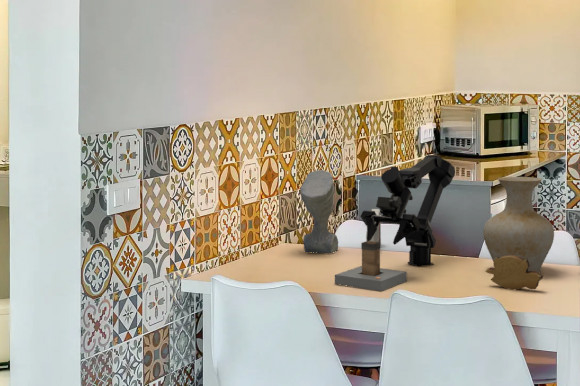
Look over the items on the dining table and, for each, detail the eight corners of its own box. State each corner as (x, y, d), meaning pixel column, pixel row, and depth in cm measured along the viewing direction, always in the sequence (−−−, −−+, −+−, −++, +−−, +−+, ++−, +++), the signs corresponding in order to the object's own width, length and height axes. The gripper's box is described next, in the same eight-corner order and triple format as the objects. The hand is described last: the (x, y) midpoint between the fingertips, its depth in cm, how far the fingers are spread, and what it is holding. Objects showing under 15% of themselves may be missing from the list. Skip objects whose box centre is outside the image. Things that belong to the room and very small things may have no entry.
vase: (494, 262, 285) (496, 174, 281) (560, 268, 274) (563, 177, 270) (473, 274, 266) (475, 180, 263) (543, 281, 255) (545, 183, 252)
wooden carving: (543, 290, 245) (544, 256, 244) (540, 293, 241) (541, 259, 240) (487, 284, 253) (488, 251, 251) (483, 287, 249) (484, 254, 247)
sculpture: (339, 247, 315) (339, 167, 312) (332, 259, 293) (332, 173, 290) (307, 246, 317) (307, 167, 314) (298, 258, 295) (297, 173, 292)
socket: (361, 275, 267) (361, 264, 267) (406, 281, 258) (406, 270, 257) (334, 284, 254) (334, 273, 254) (381, 291, 245) (381, 279, 244)
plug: (368, 280, 259) (368, 240, 257) (380, 282, 256) (380, 242, 255) (361, 283, 255) (361, 242, 254) (373, 285, 253) (373, 244, 251)
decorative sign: (373, 262, 299) (373, 221, 296) (366, 261, 299) (365, 221, 296) (380, 244, 321) (380, 206, 318) (373, 244, 322) (373, 206, 318)
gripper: (363, 185, 267) (345, 224, 259) (416, 188, 256) (398, 229, 249) (375, 206, 274) (358, 245, 267) (427, 210, 264) (411, 251, 256)
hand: (380, 242), depth 259 cm, fingers open, 9 cm apart
